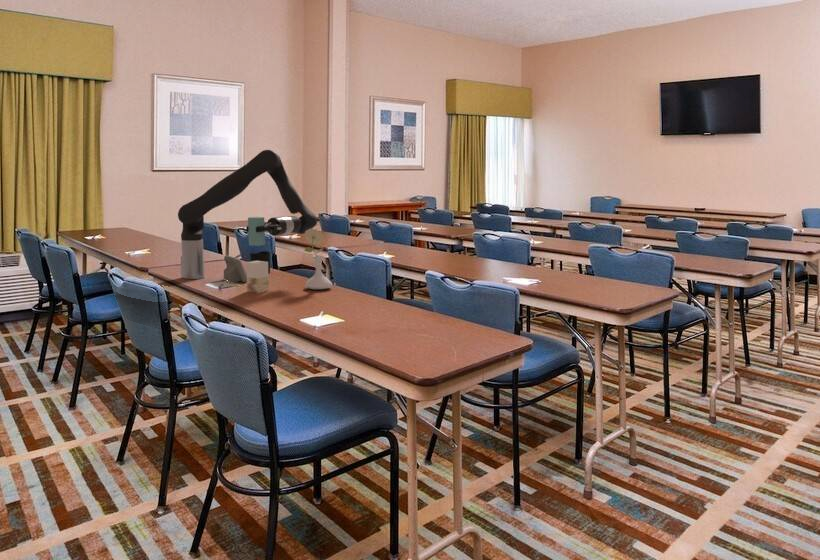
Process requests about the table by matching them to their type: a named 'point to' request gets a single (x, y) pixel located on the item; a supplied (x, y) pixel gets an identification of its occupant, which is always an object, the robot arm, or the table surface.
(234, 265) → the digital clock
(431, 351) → the table surface
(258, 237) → the teal post
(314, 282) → the flower in vase
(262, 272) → the cream cube
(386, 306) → the table surface
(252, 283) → the maple cube
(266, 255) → the pen holder
